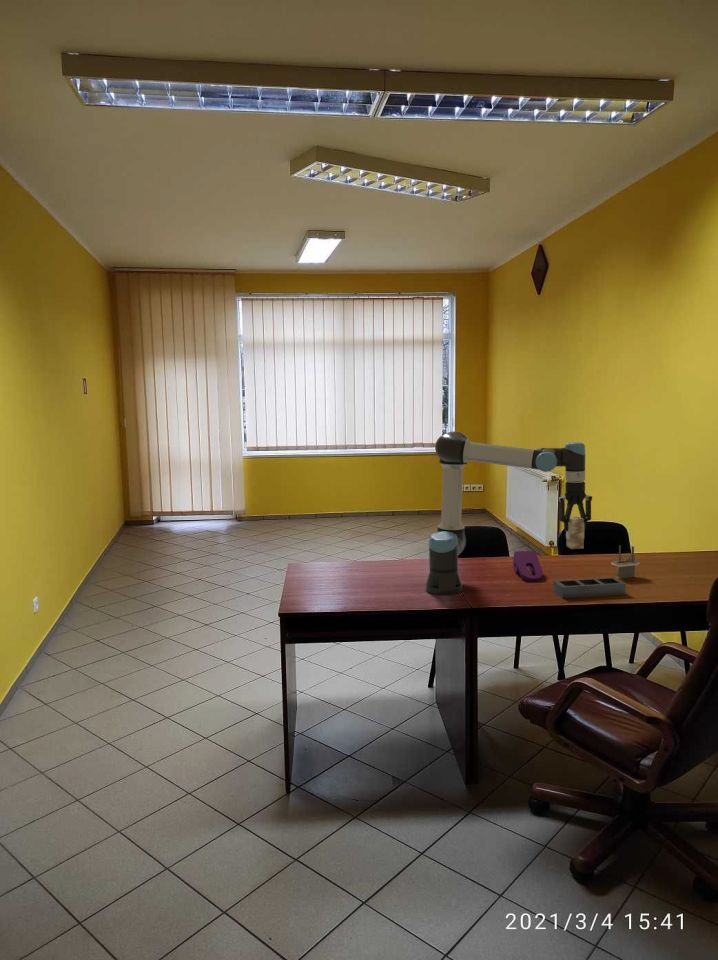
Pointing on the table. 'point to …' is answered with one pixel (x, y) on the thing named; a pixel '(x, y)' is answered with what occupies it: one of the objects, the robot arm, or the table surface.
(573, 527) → the peg
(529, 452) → the robot arm
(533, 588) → the table surface
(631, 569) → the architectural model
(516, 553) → the mounting bracket
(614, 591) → the dark grey long frame
